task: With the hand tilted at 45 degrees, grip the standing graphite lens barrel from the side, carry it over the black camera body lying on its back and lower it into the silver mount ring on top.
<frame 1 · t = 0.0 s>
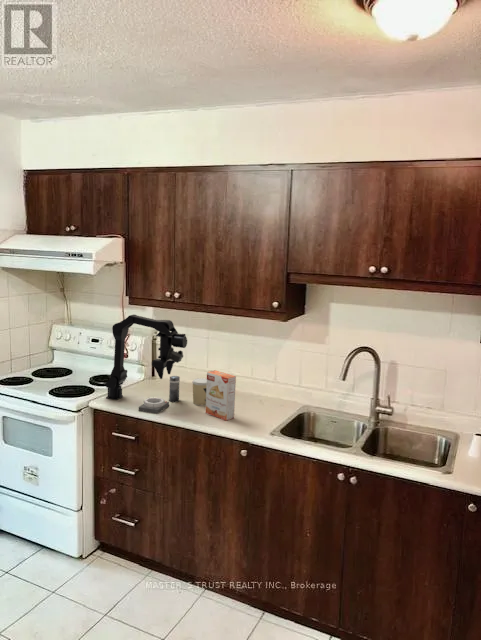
hand: (165, 376, 258), 15 cm above the countertop, tool pointing down, fingers open, 9 cm apart
camera body: (154, 408, 254), on the countertop
cracker box: (219, 416, 248), on the countertop
lens: (174, 400, 267), on the countertop
coffee cup: (200, 403, 265), on the countertop
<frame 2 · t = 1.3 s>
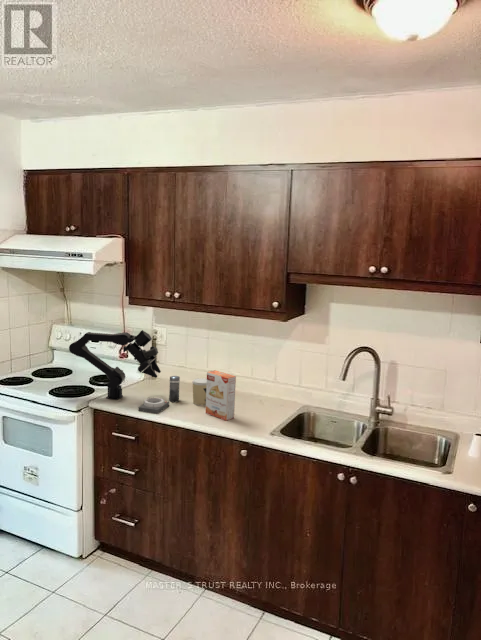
hand: (158, 374, 265), 13 cm above the countertop, tool tilted 45°, fingers open, 9 cm apart
nothing on the countertop moved.
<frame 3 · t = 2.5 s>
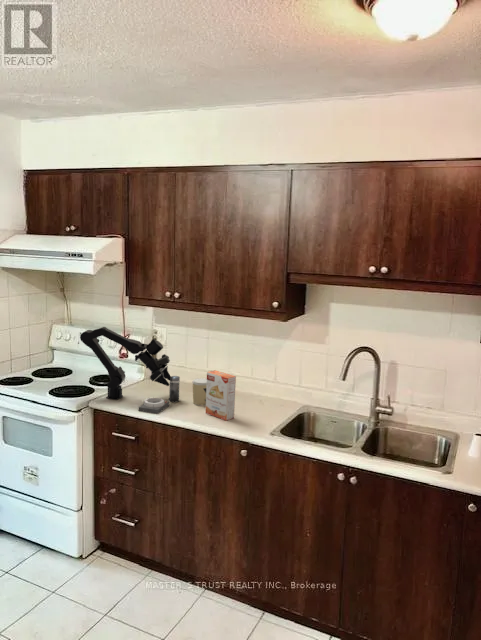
hand: (170, 382, 266), 9 cm above the countertop, tool tilted 45°, fingers open, 9 cm apart
nothing on the countertop moved.
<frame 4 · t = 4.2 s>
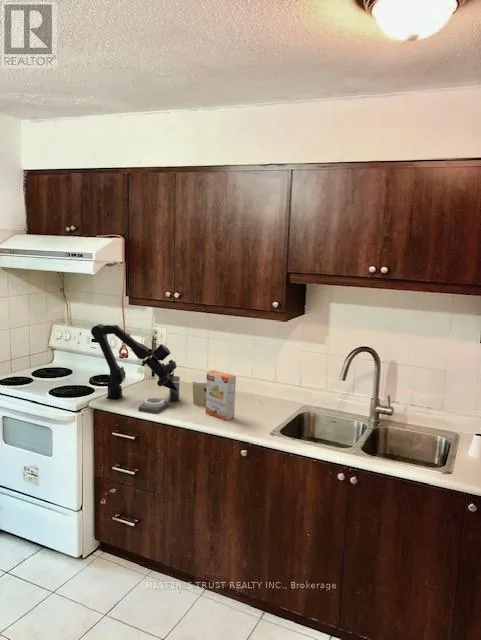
hand: (177, 388, 266), 7 cm above the countertop, tool tilted 45°, fingers closed on lens, 5 cm apart
lens: (174, 400, 267), on the countertop, touching gripper
everything else where it was.
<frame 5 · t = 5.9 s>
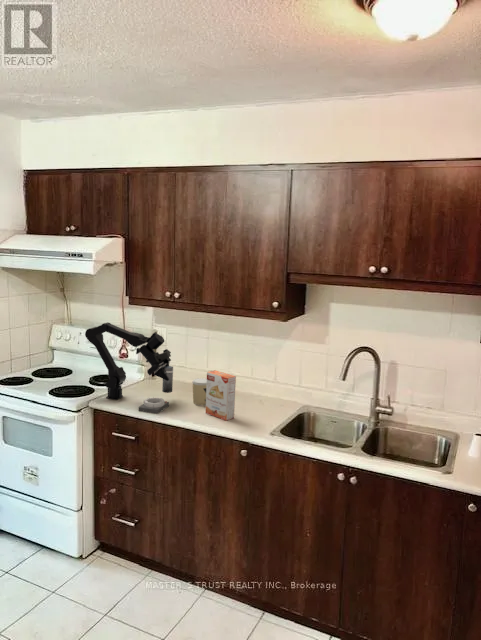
hand: (170, 378, 259), 13 cm above the countertop, tool tilted 45°, fingers closed on lens, 5 cm apart
lens: (167, 391, 260), point 7 cm above the countertop, touching gripper
everything else where it was.
when the fingers open (10 cm above the countertop, at t = 7.9 s): lens drops 1 cm, resting on camera body.
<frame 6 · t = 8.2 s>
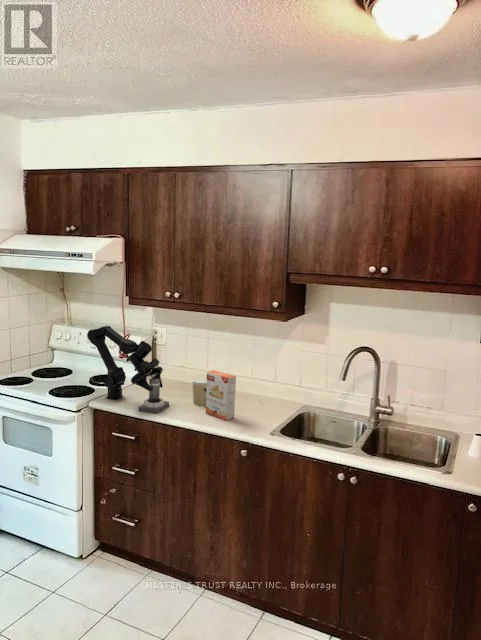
hand: (156, 389, 252), 10 cm above the countertop, tool tilted 45°, fingers open, 8 cm apart
lens: (154, 404, 254), point 2 cm above the countertop, touching camera body
everything else where it was.
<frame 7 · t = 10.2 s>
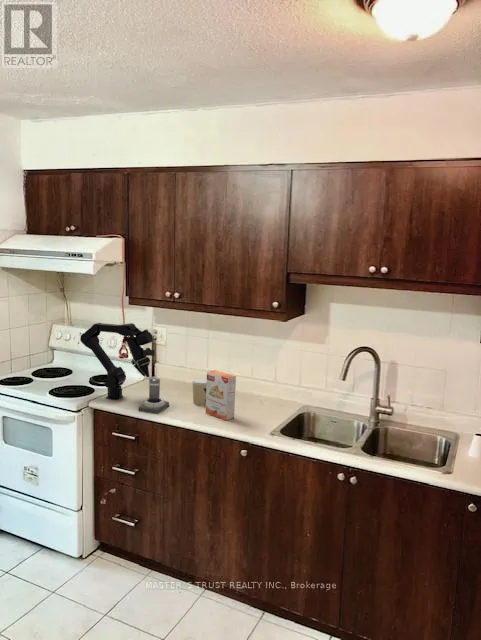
hand: (146, 376, 261), 13 cm above the countertop, tool tilted 25°, fingers open, 9 cm apart
nothing on the countertop moved.
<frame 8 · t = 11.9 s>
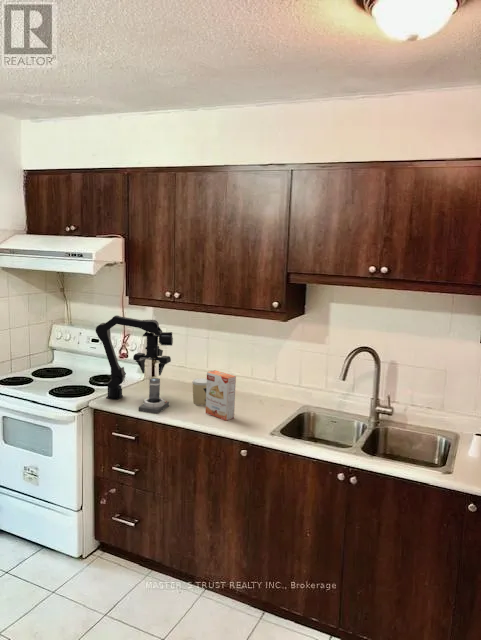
hand: (151, 374, 267), 13 cm above the countertop, tool pointing down, fingers open, 9 cm apart
nothing on the countertop moved.
at the end: lens 0.1 cm off-centre on the camera body, point 2.1 cm above the camera body's base; lens tilted 1°; the gripper is holding nothing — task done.
